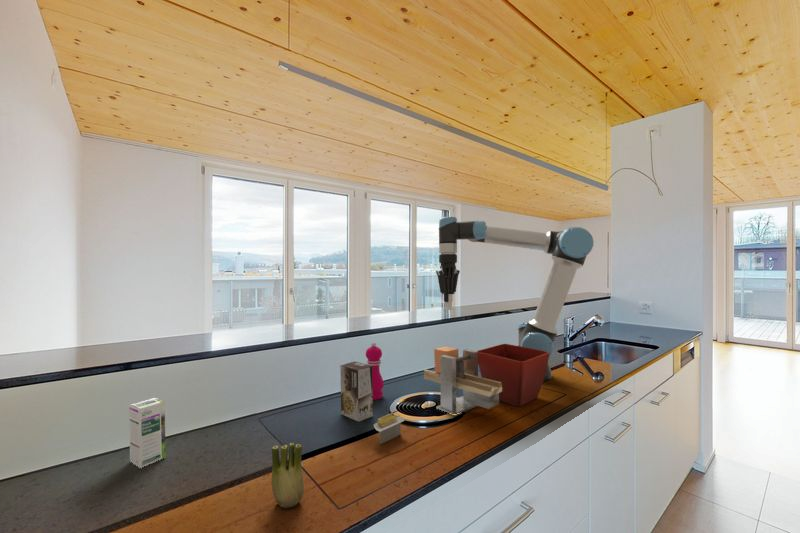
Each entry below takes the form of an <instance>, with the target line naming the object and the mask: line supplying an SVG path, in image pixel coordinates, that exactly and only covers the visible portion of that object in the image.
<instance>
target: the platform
mask: <svg viewBox="0 0 800 533" xmlns="http://www.w3.org/2000/svg"><path fill="white" fill-rule="evenodd" d="M404 421H405V417H403V416H397V414H394V415H393V412H392V413H389V414H386V415H383V416H381V417H380V418H377V422H375V423H374V424H373V427H374V429H375V430H376V431H377V432H379V445H383V444H384V443H386V442H388V441H391V440H392V439H395V438H397V437H398V436H400V435H401V425H402V424H401V423H402V422H404Z"/></svg>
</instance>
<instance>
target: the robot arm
mask: <svg viewBox="0 0 800 533" xmlns="http://www.w3.org/2000/svg"><path fill="white" fill-rule="evenodd" d="M457 219H458V218H457V217H456V216H443V217H441V218H439V222H438V247H439V250H438V252H439V255H438V260H439V261H438V263H439V264H440V267H439V269H438V270H435V273H436V276H437V280H438V281H437V282H438V287H439V292H440V293H441V294H442V295H443V303H444V310H446V311H447V310H448V311H452V310H453V295H455V293H457V286H458V279H459V274H460V270H459V269H457V266H456V264H457V263H458V254H457V253H458V240H468V241H470V242H472V243H484V244H491V245H499V246H507V247H513V248H521V249H529V250H537V251H543V252H544V253H545V254H548V255H549V254H550V255H551V260H552V261H553V264H552V266H551V269H550V272H549V274H548V277H547V280H546V283H545V285H544V288H543V290H542V294H541V296H540V299H539V302H538V304H537V307H536V310H535V313H534V316H533V318H532V319H530V320H527V322H520V323H519V324H518V327H517V330H518V346H521V347H526V348H531V349H536V350H541V351H547V352H549V359H550V358H551V357H552V355H553V353H554V349H555V345H554V343H555V340H556V339H557V335H558V331H557V329H556V326H557V323H558V321H559V318H560V315H561V313H562V310H563V308H564V304H565V302H566V300H567V296H568V294H569V292H570V289H571V285H572V283H573V281H574V278H575V275H576V272H577V271H578V269H580V268H582V267H583V266H584V263H585V261H586V259H587V256H588V255H589V254H590V253H591V252H592V250H593V248H594V238H593V235H592V234H591V233H590V232H589V231H588V230H587V229H586V228H583V227H581V226H579V227H578V226H570V227H568V228H566V229H564V230H560V231H551V230H548V231H546V232H541V231H533V230H532V231H531V230H525V229H515V228H507V227H505V228H504V227H498V226H489V225H487V223H486V221H484V220H471V221H468V220H467V221H458V220H457ZM552 373H553V372H552V370H551V367H550V363H549V362H548V365H547V370H546V373H545V377H544V381H549V380H551V379H552V377H553V376H552V375H553V374H552ZM544 381H543V382H544Z"/></svg>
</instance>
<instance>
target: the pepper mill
mask: <svg viewBox="0 0 800 533" xmlns="http://www.w3.org/2000/svg"><path fill="white" fill-rule="evenodd" d="M365 356H366V359H367V360H366V364H367V365H371V366H373V367H372V382H373V401H374V400H375V401H377V400H380V399H382V398H383V395H384V394H383V393H384V392H383V391H382V390H383V389H384V387H385V384H384V383H385V382H384V379H383V376H382V374H381V372H380V365H381V362H382V361H381V358H382V356H383V351H382V349H381V348H380V347H379V346H377V343H376V342H375V341H374V342H372V343H371V345H370V346H369V347H368V348H367V349H366V351H365Z"/></svg>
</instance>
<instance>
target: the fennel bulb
mask: <svg viewBox="0 0 800 533" xmlns="http://www.w3.org/2000/svg"><path fill="white" fill-rule="evenodd" d="M302 451H303V446H302V445H301V444H299V443H298V444H295V443H294V442H290V443H289V450H288V445H287V444H285V445H282V446H281V447H280V449H279V446H278V445H275V446H272V447H271V454H272V456H271V457H272V459H271V460H272V467H271V468H272V469H271V470H272V472H271V488H272V495H273V496H274V499H275V502H276V504H278V505H279V506H280V508H282V509H292V508H294V507H295V506H297V505H298V503H299V502H300V501H301V500H302V499H303V496H304V494H305V493H304V492H305V480H304V475H303V467H302Z"/></svg>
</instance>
